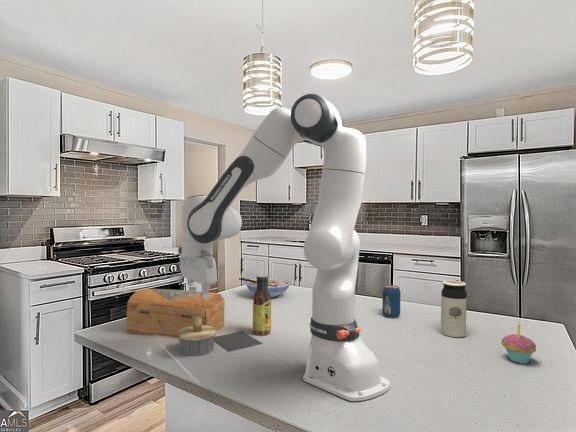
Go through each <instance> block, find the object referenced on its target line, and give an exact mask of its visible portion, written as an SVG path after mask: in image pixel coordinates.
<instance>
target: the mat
mask: <svg viewBox="0 0 576 432" xmlns="http://www.w3.org/2000/svg"><path fill="white" fill-rule="evenodd" d="M214 343H215V344H216V345H218V346H220V347H221V348H222V349H224V350H225V351H226V352H228V353H231V352H234V351H239V350H243V349H246V348H251V347H255V346H259V345H263V344H264V343H263V342H262V341H260V340H258V339H256V338H255V337H253V336H251V335H249V333H246V332H245V331H243V330H241V331H236V332H232V333H227V334H226V333H225V334H222V335H218V336H216V335H215V336H214Z"/></svg>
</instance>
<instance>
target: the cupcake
mask: <svg viewBox="0 0 576 432" xmlns="http://www.w3.org/2000/svg"><path fill="white" fill-rule="evenodd" d="M516 330H517V333H516V334H515V333H514V334H508V335H506V336H504V337H503V338H502V339H501V343H500V344H501V346H503V347H504V349H505V350H506V353H507V357H508V359H509V360H510V359H511V360H512V362H514V361H515V362H514V363H517V362H521V363H520V364H528V363H529V361H530V359H531V357H532V355H533V354H534V353H535V352H537V344H536V342H534V341H533V340H532V339H530V338H529V337H526V336H525V335H521V322H517V329H516ZM511 360H510V361H511ZM527 362H528V363H527Z"/></svg>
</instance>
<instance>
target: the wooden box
mask: <svg viewBox="0 0 576 432" xmlns="http://www.w3.org/2000/svg"><path fill="white" fill-rule="evenodd" d="M201 292H202V291H197V290H196V293H190V292H189V290H182V289H166V288H165V289H163V288H141V289H139V290H137V291H135V292H134V293H133V294H132V295H131V296H130V297H129V299H128V301H127V302H126V333H127V334H137V335H144V336H145V335H146V336H154V335H156V336H165V337H166V336H167V337H174V338H175V337H176V338H179V337H178V332H179V330H180V329H182V328H185V327H188V326H193V317H196V316H200V317H202V325H208V326H212V327H214V328H215V329H216V333H217V332H218V331H220V330H221V329H222V328H223V327H225V303H226V302H225V298H224V296H222V295H223V294H221V293H217V292H210V291H209V292H208V295H209V297H208V298H207V299H203V298H201Z"/></svg>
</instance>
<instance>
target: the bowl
mask: <svg viewBox="0 0 576 432" xmlns="http://www.w3.org/2000/svg"><path fill="white" fill-rule="evenodd" d="M214 337H215V336H213V337H211V338H208V339H205V340H198V341H189V340H183V339H181V338H179V337H178V341H179V346H178V347H179V349H178V350H179V353H180V354H181V355H183V356H187V357H199V356H204V355H208V354H210V353H212V352H213V351H214V350H215V342H214Z"/></svg>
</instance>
